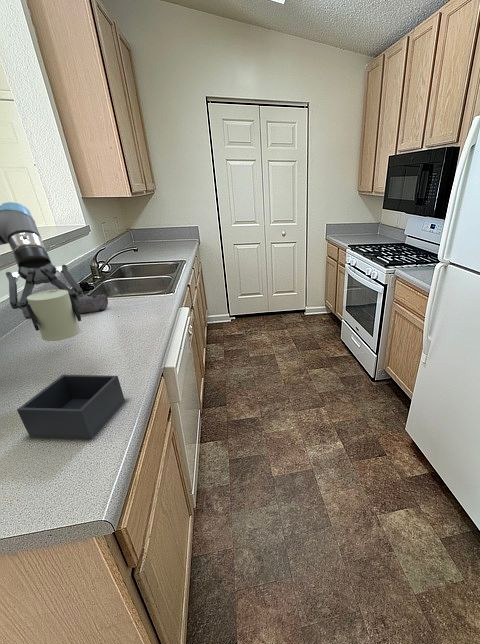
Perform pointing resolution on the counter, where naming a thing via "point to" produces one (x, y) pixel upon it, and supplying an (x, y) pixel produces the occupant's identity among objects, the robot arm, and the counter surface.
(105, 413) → the open box
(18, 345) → the counter surface
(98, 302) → the perforated stone tool
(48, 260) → the robot arm
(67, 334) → the can
